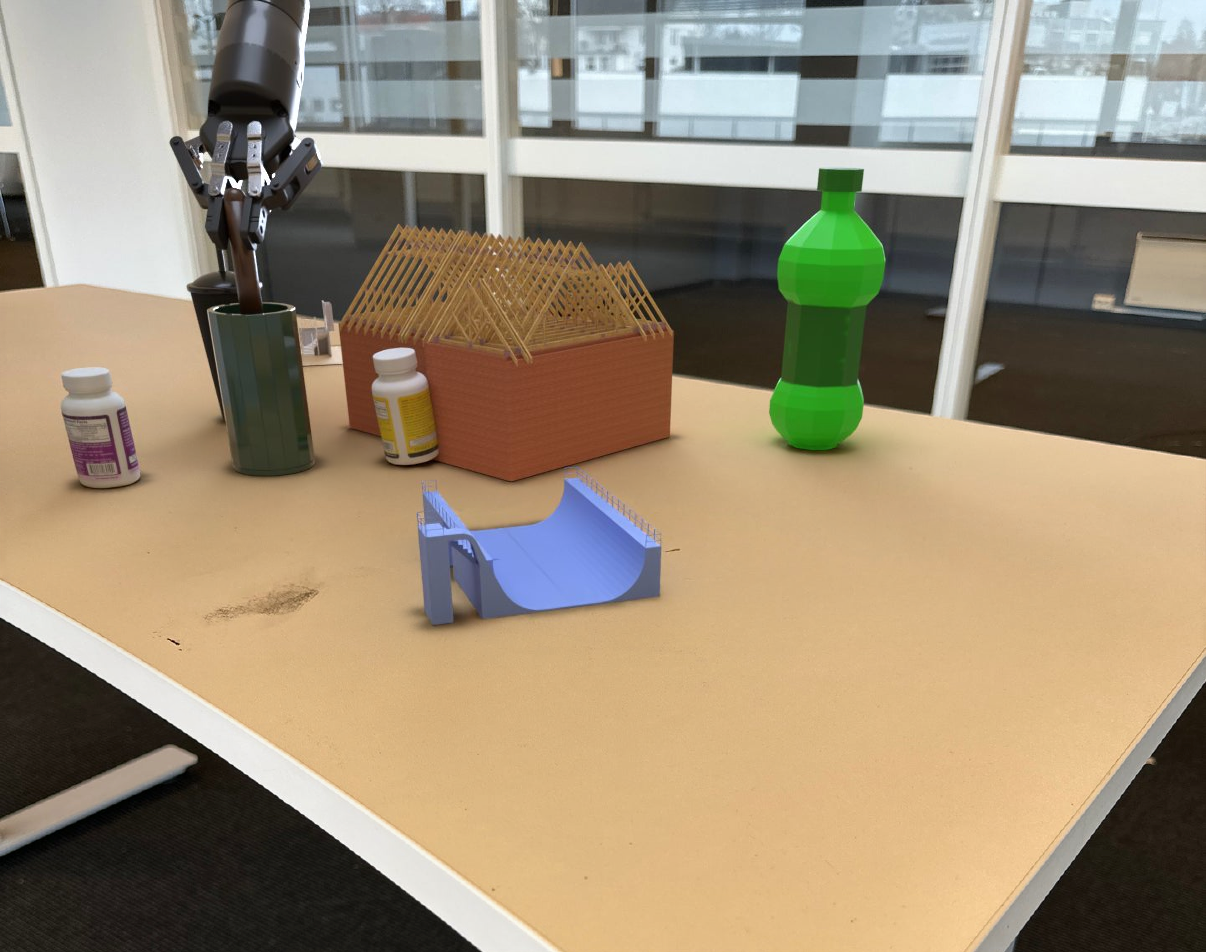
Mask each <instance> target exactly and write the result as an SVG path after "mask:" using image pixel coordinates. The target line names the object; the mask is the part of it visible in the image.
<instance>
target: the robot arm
mask: <svg viewBox="0 0 1206 952" xmlns="http://www.w3.org/2000/svg"><path fill="white" fill-rule="evenodd" d="M309 14H310V0H226V7H225V14H224V17H223V18H224V19H223V22H222V25H221V28H220V30H219V32H218V33H219V34H218V37H217V41H216V42H217V43H216V48H215V53H214V54H215V55H214V60H213V66H212V73H211V79H210V85H209V92H208V97H207V116H206V119H205V121H204V122H203V123H202V124H201V126H200V128H199V131H198V136H195V137H192V138H191V139H187V140H186V141H184V139H183V138H182V136H180V135H174V136H172V137H171V138H170V139H169V146H170V148H171V150H172V153H173V154H174V156H175V159H176V161H177V163H178V165H179V167H180V169H181V172H182V173H183V177H184V178H185V180H186V183H187V185H188V187H189V189H190V190H191V192H192V194H193V196H194V198H195V200H196V202H197V203H198V206H199V207H200V208H201V209H203V210H206V217H205V222H204V228H205V232H206V233H207V234H206V235H207V236H208V237H209V239H210V241H211V243H212V244H214V246H216V248H217V249H218V250H223V251H227V250H228V248H229V247H228V246H229V242H230V241H229V234H228V228H227V221H226V215H225V208H224V202H223V195H224V193H225V191H226V190H227V189H229V188H231V187H236V188H239V189H241V187H242V184H243V181H246V180H247V193H248V197H247V198H244V204H243V211H242V218H241V224H240V237H241V240H242V242H243V244H244V246H245V248H246V250H255V251H257V250H258V249H257V248H258V245H261V244H262V243H263V242H264V239H265V232H266V225H267V218H268V216H269V215H270V214H271V212H272V210H275V209H279V210H281V211H285V212H286V211H289V210H290V209H291V208H292V206H293V205H294V204H295V203H296V201H297V200H298V198H300V196H301V194H303V192H304V191H305V190H306V188H307V187H308V186H309V184H310V183H311V182H312V181H313V179H314V178H315V177H316V176H317V174H318V173H319V172H320V170H321V169H322V167H323V161H322V158H321V154H320V152H319V149H318V147H317V145H316V143H315V140H314V138H312V137H304V138H303V139H300V138H299V137H297V135H296V131H297V123H298V117H299V110H300V102H301V95H302V88H303V86H304V82H305V75H304V73H305V47H306V39H307V31H308V24H309ZM205 153H207V154H208V156H209V157H210V158H211V162H210V169H211V174H210V179H209V182H208V183H206V182H205V181H204V180H203V178H202V177H203V176H202V175H201V173H200V171H201V170H203V164H204V158H203V156H204V154H205ZM216 248H215V249H216Z"/></svg>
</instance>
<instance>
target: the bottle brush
mask: <svg viewBox="0 0 1206 952" xmlns="http://www.w3.org/2000/svg"><path fill="white" fill-rule="evenodd" d="M244 198H248V197H247V195H246V194H245V192H244V191H243V190H242V189H241V188H240V189H239V188H236V187H231V188H229V189H227V190H226V191H225V193H224V195H223V202H224V208H225V215H226V221H227V228H228V234H229V241H228V242H229V247H230V254H231V260H232V266H233V272H234V273H235V280H236V286H237V293H238V299H239V306H240V312H241V314H263V313H264V312H263V305H262V302H263V300H262V299H263V298H262V292H261V291H260V284H259V282H260V279H259V272H258V271H259V270H258V265H257V258H256V250H246V248H245V246H244V244H243V242H242V240H241V237H240V224H241V218H242V211H243V204H244Z"/></svg>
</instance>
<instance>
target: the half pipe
mask: <svg viewBox="0 0 1206 952" xmlns="http://www.w3.org/2000/svg"><path fill="white" fill-rule="evenodd" d="M563 468H564V470H563V472H564V473H563V475H564V479H563V491H562V496H561V499H560V501H559V504H558V505H557V507H556V508H555V510H554V511H553V512H552V513H551V514H550V515H549V516H548V517H546V518H545V519H543V520H540V521H539V522H536V523H533V524H527V525H519V526H518V525H517V526H508V527H499V528H488V529H479V530H469V528H468V527H467V526H466V525H465V523H464V522H463V521H462V520H461V518H460V517H459V516H458V515H457V513H456V512H455V511H454V509H453V508H452V507H451V506H450V505H449V503H447V501H446V500H445V499H444V497H443V496H442V495H441V494H440V492H439V491H438V485H437V484H435V488H436V490H434V491H433V490H431V491H430V489H429V487H431V485H428V486H427V485H426V484H425V483H424V482H425V480H421V484H422V485H421V490H422V493H421V495H422V508H423V510H422V513H423V517H421V516H420V514H419V513H420V511H416V519H417V525H416V526H417V535H418V536H417V537H418V548H419V559H420V560H419V561H420V572H421V584H422V585H421V587H422V597H423V608H424V613H425V614H426V616H427V618H428V620H429V621H430V623H431V625H432V626H437V625H438V626H439V625H445V624H453V623H455V622H454V621H455V620H454V610H453V609H454V608H453V607H454V606H453V592H452V591H453V590H452V580H451V579H452V578H451V567H452V573H453V574H452V575H453V579H454V581H455V582H456V583H457V585H458V586H459V588H460V589H461V591H462V592H463V594H464V595H465V596H466V598H467V599H468V600H469V602H470V603H471V605H472V606H473V608H474V609H475V610H476V612H477V613H478V615H479V616H480V618H481V619H482V620H489V619H490V620H491V619H496V618H497V619H498V618H503V617H512V616H519V615H527V614H536V613H543V612H550V611H557V610H566V609H573V608H582V607H590V606H596V605H597V606H598V605H604V604H611V603H619V602H620V603H621V602H628V601H635V600H642V599H643V600H644V599H650V598H651V599H652V598H658V597H659V598H660V597H661V596H660V595H661V574H662V573H661V572H662V571H661V570H662V539H660V538H659V537H658V536H657V535H659V536H660V535H662V533H661V532H659V530H657V529H656V528H655V527H654V526H652V525H651V524H650V523H649V522H647V521H646V520H645V519H643V517H641V516H640V515H638V514H637V513H636V512H635V511H633V510H632V509H631V508H630V507H628V506H627V505H626V504H624V502H622V501H621V500H619V498H617V497H616V496H615V495H614V494H612V493H611V492H610V491H608V490H607V489H606V488H604V487H603V486H602V485H601V484H600V483H598V482H597V481H596V480H594V479H593V478H592V477H591V476H589V474H587V473H586V472H584V471H583V470H582V469H581V468H579V467H578V466H572V467H570V469H575V468H576V472H575V474H576V477H570V478H566V475H567V474H568V475H569V474H571V472H567V473H566V467H563ZM578 470H580V471H581V473H584V474H585V477H586V478H585V477H584V476H583V475H581V473H579V471H578ZM579 476H581V478H582V479H584V480H586V481H585V482H586V483H585V482H584V481H583V480H582V479H580V478H579ZM588 477H589V479H591V481H588ZM432 481H433V482H434V481H435V482H436V479H431V480H429V479H428V482H432ZM593 481H594V482H595V483H596V486H595V485H594V484H593ZM588 483H590V485H591V487H590V486H589V485H588ZM423 485H424V486H423ZM598 486H600V488H601V490H600V488H599V489H598ZM593 487H594V488H596V489H595V490H596V491H595V490H594V489H593ZM603 489H604V490H605V491H606V493H603V492H602V491H603ZM598 492H600V493H602V495H604V496H605V497H606V499H605V498H603V496H602V495H600V494H599V493H598ZM609 494H610V495H611V496H612V498H610V497H609ZM614 498H615V499H616V500H617V503H616V502H615V501H614ZM609 500H610V501H611V503H612V504H611V503H610V502H609ZM620 503H621V504H623V508H625V507H626V508H627V509H628V510H629V512H627V511H626V510H625V509H623V508H622V507H621V506H620ZM614 504H615V505H616V506H617V508H616V507H615V506H614ZM619 508H620V509H621V510H623V513H622V512H620V511H619V510H620V509H619ZM631 512H632V513H634V515H635V516H632V515H631ZM625 513H626V514H628V517H629V518H628V517H626V516H625ZM637 516H638V517H639V518H640V519H641V521H640V522H639V521H638V520H637ZM634 517H635V518H634ZM631 518H632V519H634V522H635V523H634V522H633V521H631ZM420 520H421V521H420ZM643 521H644V522H645V523H646V524H647V527H646V526H644V525H643ZM637 523H639V524H640V527H639V526H638V525H637ZM643 527H644V528H645V529H646V530H647V533H646V532H645V531H644V530H643ZM650 527H651V528H652V529H653V532H652V531H651V530H650V529H649V528H650ZM656 531H657V533H656ZM649 532H650V533H651V534H649ZM651 536H653V538H652V537H651ZM656 538H657V540H656ZM658 542H660V543H658Z"/></svg>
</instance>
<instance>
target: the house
mask: <svg viewBox="0 0 1206 952" xmlns="http://www.w3.org/2000/svg"><path fill="white" fill-rule="evenodd" d="M399 233H400V236H399V237H398V239H397V241H396V243H394V241H395V239H396V238H397V236H398V234H399ZM443 238H444V239H443ZM404 239H405V240H406V241H405V242H404V244H403V245H402V243H403V241H404ZM476 241H477V242H476ZM393 243H394V245H393ZM392 245H393V247H392ZM401 245H402V247H401V249H400V250H399V248H400V246H401ZM509 245H510V246H511V247H510V246H509ZM409 246H411V248H410V249H408V248H409ZM519 246H520V247H521V248H520V247H519ZM391 247H392V248H391ZM489 247H490V248H489ZM390 248H391V251H389V250H390ZM529 248H530V249H529ZM538 248H540V250H541V251H539V249H538ZM549 249H550V251H551V253H550V252H549ZM559 250H560V251H561V253H562V254H560V252H559ZM570 251H571V253H572V255H571V254H570V253H569V252H570ZM470 252H471V253H470ZM494 253H495V254H494ZM515 253H516V254H517V255H516V254H515ZM581 253H582V254H583V256H584V257H585V259H586V260H587V262H588V263H589V264H590V267H591V268H589V266H588V265H587V263H586V262H585V261H584V258H583V257H582V256H581ZM525 254H526V255H525ZM386 255H387V257H386ZM395 256H396V258H395V259H394V261H393V263H392V264H391V266H390V268H389V270H388V271H387V272H386V275H385V276H384V278H383V279H382V276H383V275H384V273H385V271H386V270H387V268H388V266H389V265H390V263H391V261H392V260H393V258H394V257H395ZM526 256H527V257H526ZM535 256H536V257H537V258H536V257H535ZM385 257H386V259H385V261H384V263H382V262H383V259H384V258H385ZM404 257H405V258H404ZM544 257H546V258H547V260H546V259H545V258H544ZM402 258H404V259H403V261H402V263H401V265H400V266H399V268H398V269H397V271H396V273H395V275H394V276H393V278H392V280H391V282H390V284H389V285H388V286H387V284H388V282H389V280H390V279H391V277H392V275H393V273H394V272H395V270H396V268H397V267H398V265H399V263H400V261H401V260H402ZM411 258H413V259H412V262H411V263H410V265H409V267H408V269H407V270H406V272H405V274H404V275H403V277H402V279H401V280H400V282H399V284H398V286H397V287H396V289H395V290H394V292H393V289H394V287H395V285H396V284H397V282H398V280H399V279H400V277H401V275H402V274H403V272H404V271H405V268H406V267H407V265H408V263H409V261H410V260H411ZM555 258H556V259H557V262H556V260H555ZM421 259H422V260H421ZM420 260H421V262H420V264H419V266H418V268H417V269H416V270H415V273H414V274H413V276H412V278H411V279H410V281H409V282H408V279H409V278H410V276H411V274H412V272H413V271H414V269H415V267H416V265H417V264H418V262H419V261H420ZM565 260H567V261H568V263H567V262H566V261H565ZM521 261H522V262H521ZM576 261H577V262H578V263H579V265H580V266H581V267H582V268H581V269H580V268H579V266H578V264H577V263H576ZM531 262H532V263H531ZM381 264H382V266H381V268H380V270H379V271H378V272H377V274H376V276H375V278H374V279H373V277H374V275H375V273H376V271H377V270H378V268H379V266H380V265H381ZM425 266H428V267H427V269H426V270H425V272H424V274H423V275H422V277H421V279H420V280H419V282H418V284H417V285H416V287H415V289H414V291H413V292H412V294H411V296H410V292H411V290H412V289H413V287H414V285H415V283H416V282H417V280H418V278H419V276H420V275H421V273H422V271H423V270H424V268H425ZM476 270H477V271H476ZM484 270H485V271H486V272H485V271H484ZM630 271H631V273H632V275H633V277H634V278H635V280H636V281H637V284H639V286H640V288H641V289H642V291H643V293H644V294H643V295H641V293H640V291H639V290H638V289H637V287H636V285H635V284H634V282H633V280H632V279H631V277H630ZM431 273H433V275H432V277H431V278H430V280H429V281H428V283H427V285H426V287H425V289H424V290H423V292H422V293H421V295H420V297H419V293H420V291H421V289H422V288H423V286H424V285H425V283H426V281H427V279H428V277H429V276H430V274H431ZM538 273H539V274H538ZM558 276H559V277H558ZM622 276H624V277H625V280H626V285H625V283H624V282H623V280H622ZM533 277H534V278H535V279H534V278H533ZM597 277H598V279H597ZM613 277H614V279H613ZM588 278H589V279H588ZM372 279H373V281H372V283H371V285H370V286H369V288H368V285H369V284H370V282H371V280H372ZM381 279H382V282H381V283H380V285H379V286H378V288H377V290H376V287H377V285H378V283H379V282H380V280H381ZM543 279H544V280H545V282H544V281H543ZM553 281H554V282H553ZM407 282H408V285H407V286H406V288H405V290H404V292H403V293H402V294H401V291H402V289H403V288H404V286H405V284H406V283H407ZM554 283H555V284H554ZM563 283H564V284H565V285H566V287H567V289H566V288H565V286H564V285H563ZM616 283H617V285H616ZM441 284H442V285H443V287H442V285H441ZM582 285H583V286H582ZM386 286H387V288H386V290H385V291H384V289H385V287H386ZM539 286H540V287H539ZM574 286H575V287H576V288H575V287H574ZM630 287H631V288H632V290H633V292H634V294H635V295H634V296H632V295H631V293H630ZM541 288H542V289H541ZM621 288H622V290H623V292H624V294H625V295H626V296H625V298H624V297H623V295H622V294H621ZM550 289H551V290H552V291H551V290H550ZM604 289H605V290H604ZM559 290H560V291H561V292H562V294H563V295H564V296H563V295H562V294H561V292H560V291H559ZM587 290H588V292H586V291H587ZM596 290H597V291H596ZM437 291H438V295H437V297H436V299H435V300H434V296H435V294H436V293H437ZM578 291H579V292H578ZM363 294H364V296H363V298H362V300H361V302H360V304H359V305H358V306H357V304H358V303H359V301H360V299H361V297H362V295H363ZM372 294H373V295H372ZM445 294H446V299H445V300H444V302H443V297H444V296H445ZM371 295H372V298H371V300H370V302H369V299H370V297H371ZM380 295H381V298H380V300H379V302H377V301H378V299H379V297H380ZM582 297H583V299H582ZM388 298H389V301H388V302H387V304H386V301H387V299H388ZM397 298H398V301H397V303H396V305H395V307H394V303H395V301H396V299H397ZM637 298H638V302H636V300H637ZM645 298H647V299H648V301H649V302H650V304H651V306H652V307H653V309H654V310H655V312H656V313H657V316H658V317H659V319H660V320H661V321H658V320H657V319H656V318H655V316H654V314H653V313H652V311H651V310H650V308H649V306H648V304H647V303H646V302H645ZM520 299H521V300H522V301H521V300H520ZM603 300H604V301H603ZM405 301H406V304H405V306H404V307H403V304H404V303H405ZM414 301H415V305H414V306H412V305H413V303H414ZM559 301H560V302H559ZM509 302H510V303H509ZM561 304H562V305H563V307H564V308H563V307H562V305H561ZM365 305H366V309H365V310H364V312H362V311H363V309H364V308H365ZM553 305H554V306H553ZM640 305H642V306H643V309H644V310H645V311H646V312H647V315H648V316H649V318H650V319H651V320H647V318H646V317H645V316H644V314H643V312H642V311H641V309H640V307H639V306H640ZM356 306H357V309H356V310H355V312H354V313H353V314H352V312H353V310H354V309H355V308H356ZM631 306H633V309H632V310H631V308H630V307H631ZM373 307H374V310H373V311H372V309H373ZM526 307H527V308H528V309H527V308H526ZM598 307H599V308H598ZM381 309H382V310H381ZM581 309H582V310H581ZM361 312H362V313H361ZM635 312H637V315H639V317H640V318H636V317H635V315H634V313H635ZM560 314H561V316H560ZM612 314H613V315H612ZM338 333H339V342H340V346H341V352H342V361H343V364H342V369H343V378H344V387H345V396H346V407H347V413H348V414H347V415H348V424H349V428H350V429H353V430H356V431H360V432H364V433H368V434H371V435H375V436H378V437H381V433H380V428H379V424H378V419H377V414H376V409H375V404H374V400H373V395H372V384H373V382H374V381H375V380H376V379H377V378H378V377H379V374H378V373H376V371H375V367H374V362H373V355H374V354H376V353H378V352H380V351H383V350H387V349H394V348H411V349H414V350H415V354H416V359H417V367H416V372H419V373H421V374H423V375H424V376H425V377H426V379H427V381H428V385H429V390H430V396H431V402H432V408H433V415H434V421H435V427H436V434H437V442H438V450H439V453H438V455H437V456H436V457H435V458H433V459H432V460H433V461H436V462H440V463H444V464H447V465H450V466H455V467H457V468H462V469H464V470H469V471H472V472H475V473H479V474H483V475H486V476H489V477H493V478H498V479H501V480H504V481H507V482H514V481H518V480H522V479H525V478H528V477H529V478H530V477H532V476H536V475H539V474H543V473H546V472H549V471H553V470H557V469H560V468H565V467H567V466H571V465H574V464H578V463H581V462H585V461H589V460H593V459H596V458H599V457H603V456H606V455H610V454H614V453H616V452H617V453H618V452H620V451H624V450H628V449H631V448H635V447H638V446H642V445H645V444H648V443H652V442H656V441H660V440H662V439H663V440H664V439H666V438H670V437H671V417H672V396H673V395H672V392H673V391H672V390H673V368H674V367H673V365H674V364H673V363H674V338H675V331H674V330H673V329H672V328H671V327H670V325H669V323H668V322H667V320H666V318H665V317H664V315H663V314H662V311H661V310H660V309H659V307H658V305H657V304H656V302H655V301H654V298H653V297H652V295H651V294H650V292H649V291H648V289H647V288H646V286H645V284H644V283H643V281H642V279H641V278H640V276H639V275H638V273H637V271H636V270H635V267H633V265H632V263H631V262H630V260H627V261H626V263H625V264H624V265H623V264H622V263H621V262H620V261H618V262H617V264H616V265H615V266H614V265H613V264H612V262H609V264H608V265H607V266H606V268H605V266H604V264H603V263H600V264H599V265H598V264H597V263H596V262H595V261H594V259H593V257H592V255H591V254H590V252H589V250H588V249H587V248H586V246H585V245H584V244H583V242H582V241H580V242H579V244H578V246H577V247H575V245H574V243H573V242H572V241H571V240H570V241H569V242H568V244H567V245H566V247H565V245H564V244H563V242H562V241H561V239H558V241H557V243H556V245H554V244H553V242H552V240H551V239H550V238H548V239H547V241H546V242H545V244H544V243H543V241H542V240H541V238H540V237H538V238H537V239H536V241H535V243H534V241H532V239H531V238H530V236H528V237H526V239H525V241H524V239H522V237H521V236H520V235H518V236H517V238H516V240H514V239H513V237H512V236H511V235H510V234H508V236H507V237H506V238H505V239H504V238H503V236H502V235H501V233H498V235H497V237H496V236H494V234H493V233H492V232H490V233H489V235H488V233H487V232H484V233H483V235H482V237H481V236H480V234H479V233H478V232H477V231H474V233H473V235H472V236H471V234H470V232H469V231H468V230H464V229H463V230H461V229H459V230H458V231H457V233H456V234H455V232H454V231H453V229H452V228H450V229H449V231H448V232H446V231H445V230H444V229H443V228H442V227H441V228H440V230H439V232H438V231H437V230H436V229H435V227H431V229H430V231H429V230H428V229H427V227H426V226H423V227H422V229H419V228H418V226H417V225H414V227H413V228H411V227H410V226H409V225H408V224H406V225H405V227H404V228H403V226H401V224H399V223H398V224H397V226H396V227H395V229H394V230H393V232H392V234H391V236H390V237H389V238H388V241H387V242H386V243H385V246H384V247H383V249H382V251H381V252H380V254H379V256H378V257H377V259H376V261H375V263H374V265H373V266H372V268H371V269H370V271H369V273H368V275H367V276H366V278H365V280H364V281H363V283H362V285H361V286H360V288H359V290H358V291H357V293H356V295H355V296H354V299H353V300H352V301H351V303H350V305H349V307H348V308H347V310H346V312H345V314H344V315H343V317H342V319H341V320H340V322H338Z"/></svg>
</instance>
